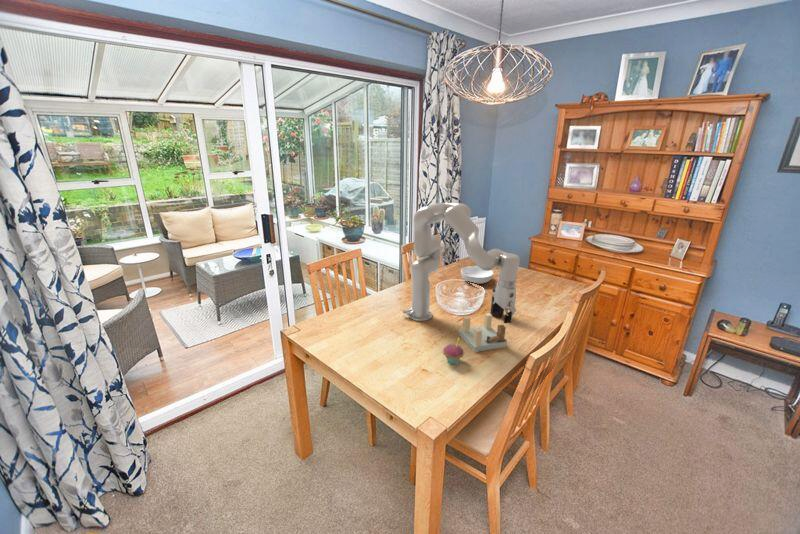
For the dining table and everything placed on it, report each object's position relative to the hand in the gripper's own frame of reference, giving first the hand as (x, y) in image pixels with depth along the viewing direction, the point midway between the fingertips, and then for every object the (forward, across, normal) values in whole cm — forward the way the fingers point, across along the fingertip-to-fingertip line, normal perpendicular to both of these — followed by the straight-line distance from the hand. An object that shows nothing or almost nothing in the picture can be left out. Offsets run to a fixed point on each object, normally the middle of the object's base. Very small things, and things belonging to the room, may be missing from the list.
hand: (501, 317), depth 156 cm
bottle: (+15, +25, -15) cm, 33 cm away
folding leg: (+11, -1, +2) cm, 12 cm away
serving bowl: (+16, +71, -27) cm, 78 cm away
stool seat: (+14, +5, +5) cm, 16 cm away
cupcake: (+14, -7, +25) cm, 30 cm away
